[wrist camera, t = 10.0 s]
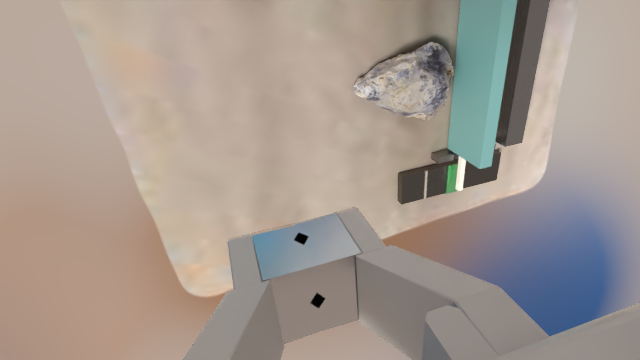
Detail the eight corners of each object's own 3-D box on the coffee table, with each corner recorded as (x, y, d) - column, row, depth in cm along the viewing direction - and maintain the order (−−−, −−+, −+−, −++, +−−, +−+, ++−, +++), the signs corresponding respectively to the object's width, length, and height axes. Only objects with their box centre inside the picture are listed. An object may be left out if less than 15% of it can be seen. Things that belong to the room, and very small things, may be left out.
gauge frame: (401, -24, 35) (417, -25, 32) (533, -39, 38) (557, -41, 36) (397, 200, 47) (409, 212, 45) (497, 174, 51) (513, 184, 48)
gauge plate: (462, -17, 37) (505, -17, 32) (475, -19, 37) (520, -19, 32) (444, 183, 48) (474, 207, 43) (454, 180, 48) (485, 204, 43)
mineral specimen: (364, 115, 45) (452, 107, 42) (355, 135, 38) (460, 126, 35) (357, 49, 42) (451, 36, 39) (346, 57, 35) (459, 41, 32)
